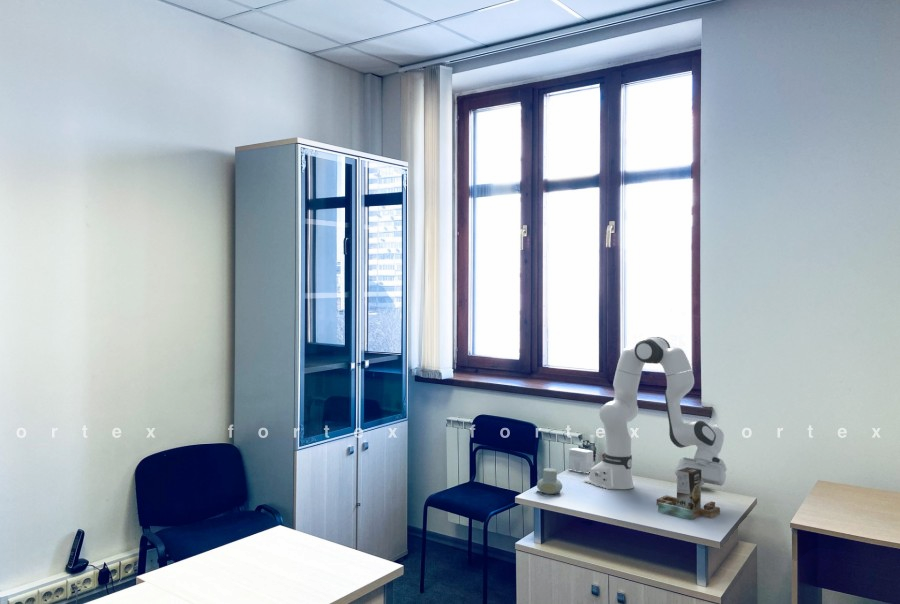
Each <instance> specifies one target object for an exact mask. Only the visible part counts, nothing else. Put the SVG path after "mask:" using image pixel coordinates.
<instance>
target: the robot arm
mask: <svg viewBox="0 0 900 604" xmlns="http://www.w3.org/2000/svg"><path fill="white" fill-rule="evenodd" d="M645 364H657V365H658V364H660V365H661V367H662V368H663V371H664V375H665V378H666V389H665V391H664V392H665V393H664V400H665V405H666V411H667V412H666V413H667V419H668V425H669V426H668V427H669V429H668V431H669V434H668V435H669V438H670V441H671V442H672V443H673V445H675V447H677V448H680V449H683V448H686V447H690V446H696V447H697V449H696V450H695V453H694V456H693V458H690V457H689V458H688V457H682V458H680V459H679V460H678V464H677V465H676V467H675V468H674V475H675V476H676V477H677V470H680V469H684V468H686V467H688V468H695V469H700V470H701V487H702V486H703V485H705V484H709V485H715V486H723V485H724V484H725V482H726V477H727V473H726V472H727V470H728V469H727V465H726V464H725V462H724V460H723V459H721V458H719V454H720V453H721V450H722V448H723V445H724V439H725V435H724V432H723V430H722V429H721V428H719V427H718V426H716V425H709V424H708V423H706V422H705V421H704V420H696V421H690V422H684V421H683V415H682V409H681V408H682V407H681V401H682V399H683V398H684V397H685V396H686V395H687V394H688V393H690V392H691V390H692V389H693V388H694V385H695V377H694V373H693V369H692V367H691V364H690V362H689V359H688V357H687V355H686V353H685V352H684V350H683V348H679V347H671V346H670V343H669V342H668V341H667V339H665V338H663V337H660V336H650V337H647V338H643V339H641V340H639V341H638V342H636V344H635V346H627V347H625V348H624V349H623V350H622V351H621V354H620V357H619V359H618V362H617V364H616V365H617V366H616V370H615V372H614V373H615V374H614V378H613V382H612V383H613V384H612V386H613V389H614V395H613V400H610V401H608V402H607V401H606V402H605V404H603V405H602V406H601V408H600V410H599V419H600V420H601V422H602V423H603V426H604V428H603V429H604V432H605V443H606V444H605V445H606V446H605V453H603V454H601V455H600V458H602V460H601V461H600V462H598V463H597V464H595V465H593V467H592V468H591V470H590V473H588V474H589V475H588V476H587V477H585V478H584V479H583V480H584V481H585V482H584V481H583V482H584V483H586V482H587V484H589V483H591V484H590V485H593V484H594V485H593V486H596V485H597V486H596V487H599V486H600V488H602V487H603V489H605V488H606V489H607V490H630V489H633V488H634V487H635V484H634V481H633V474H632V466H633V456H632V438H631V437H632V436H631V435H630V433H629V429H628V423H629V422H631V421H633V420H634V419H635V418H636V417H637V416H638V413H639V406H638V392H639V391H638V389H639V385H640V381H641V376H642V373H643V372H642V371H643V368H644V365H645ZM606 489H605V490H606Z"/></svg>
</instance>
